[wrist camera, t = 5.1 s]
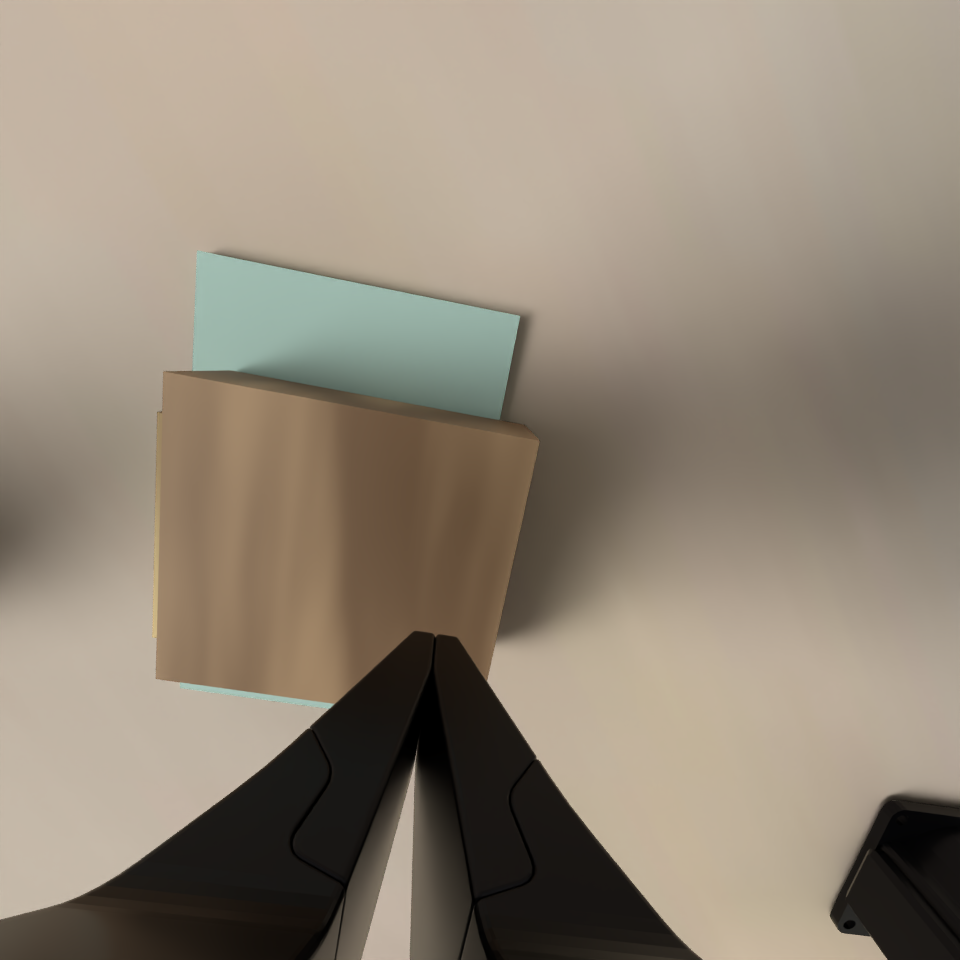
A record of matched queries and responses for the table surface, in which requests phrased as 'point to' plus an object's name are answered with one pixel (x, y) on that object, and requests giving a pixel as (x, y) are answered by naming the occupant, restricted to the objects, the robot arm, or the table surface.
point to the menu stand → (324, 531)
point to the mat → (348, 345)
